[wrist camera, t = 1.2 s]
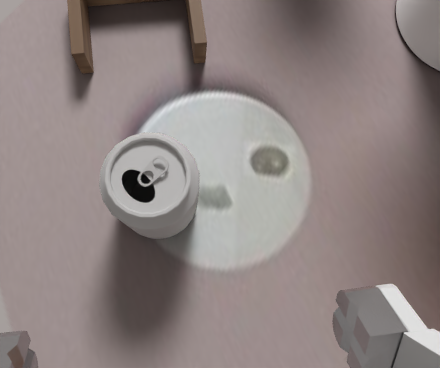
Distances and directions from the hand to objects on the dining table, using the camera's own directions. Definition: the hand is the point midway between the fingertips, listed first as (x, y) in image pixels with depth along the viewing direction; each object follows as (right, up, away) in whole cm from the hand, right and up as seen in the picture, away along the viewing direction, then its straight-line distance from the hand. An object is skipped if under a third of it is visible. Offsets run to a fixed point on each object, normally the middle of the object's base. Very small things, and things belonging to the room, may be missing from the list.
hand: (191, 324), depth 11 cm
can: (-5, +2, +30) cm, 31 cm away
